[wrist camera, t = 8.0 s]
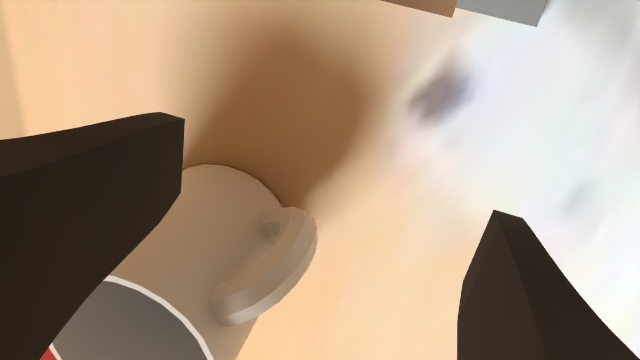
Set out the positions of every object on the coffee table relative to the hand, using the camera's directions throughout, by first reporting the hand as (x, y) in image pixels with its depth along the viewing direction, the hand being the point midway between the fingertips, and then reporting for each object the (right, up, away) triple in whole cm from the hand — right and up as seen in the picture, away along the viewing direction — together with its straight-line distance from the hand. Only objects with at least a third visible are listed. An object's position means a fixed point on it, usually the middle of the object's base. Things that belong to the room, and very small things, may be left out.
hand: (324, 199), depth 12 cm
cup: (-4, -1, +14) cm, 15 cm away
